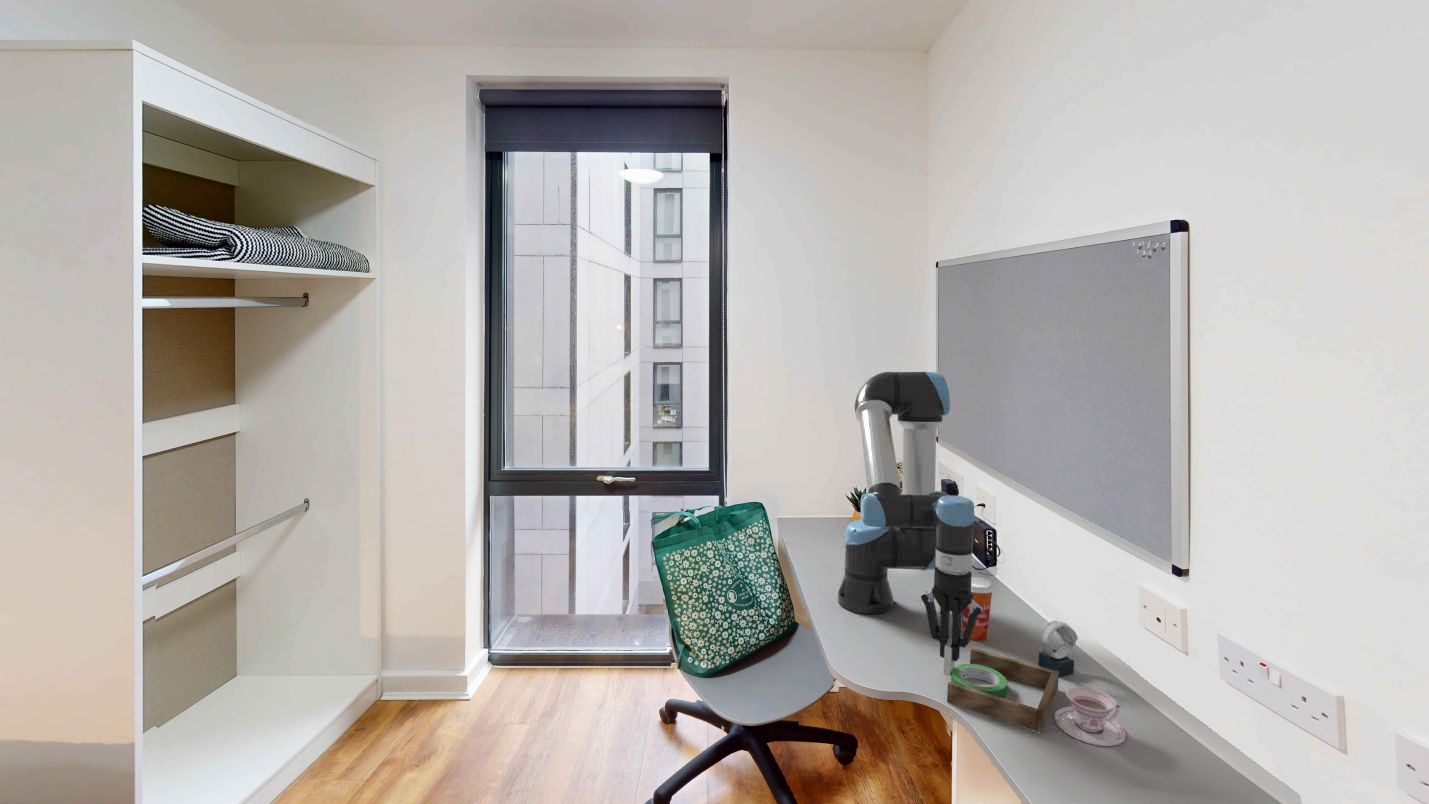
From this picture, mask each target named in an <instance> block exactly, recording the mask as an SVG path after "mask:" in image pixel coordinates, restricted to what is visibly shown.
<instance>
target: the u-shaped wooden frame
mask: <svg viewBox="0 0 1429 804" xmlns="http://www.w3.org/2000/svg"><path fill="white" fill-rule="evenodd" d="M969 657H970V658H969V660H970V661H969V664H978V665H982V666H986V667H989V668H992V669H994V670H996V671H998V672H999V673H1001V674H1002V675H1003V676H1004V677H1005V678H1008V679H1011V680H1015V681H1018V682H1021V683H1025V684H1029V685H1032V686H1035V687H1038V688H1041V689H1044V691H1043V693H1042V695H1041V698H1040V701H1039V704H1038V706H1037V708H1035V707H1033V706H1029V705H1027V704H1023V703H1020V702H1017V701H1014V700H1010V699H1009V698H1008V699H1007V698H1006V697H1005V698H1001V697H998V696H995V695H992V694H989V693H985V692H982V691H979V690H976V689H973V688H970V687H966V686H963V685H960V684H957V683H954V682H951V680H950V681H948V683H947V694H946V695H947V697H946V703H948V702H949V704H951V703H952V705H954V704H955V705H956V706H957V705H959V706H958V707H960V706H961V708H964V709H966V708H967V710H970V711H973V712H976V713H978V714H982V715H985V716H987V717H990V718H994V719H998V720H1000V721H1002V720H1003V722H1006V723H1008V722H1009V724H1011V723H1012V724H1011V725H1014V724H1015V725H1014V726H1017V725H1019V726H1018V727H1020V726H1022V727H1021V728H1023V727H1025V728H1024V729H1026V728H1028V729H1027V730H1029V729H1031V730H1030V731H1032V730H1034V731H1033V732H1035V731H1036V733H1038V732H1040V733H1039V734H1041V733H1042V734H1043V731H1044V729H1045V726H1046V724H1047V723H1046V722H1047V720H1048V718H1049V715H1050V713H1051V710H1052V706H1053V704H1054V701H1055V698H1056V696H1057V692H1058V690H1059V678H1060V677H1059V672H1058V671H1054V670H1051V669H1047V668H1043V667H1040V666H1039V665H1036V664H1032V663H1029V662H1025V661H1021V660H1017V659H1014V658H1010V657H1008V656H1007V657H1006V656H1003V655H1000V654H996V653H992V652H989V651H986V650H982V649H978V648H974V647H971V648H970V655H969ZM955 705H954V706H955Z"/></svg>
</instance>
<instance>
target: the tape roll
mask: <svg viewBox="0 0 1429 804" xmlns="http://www.w3.org/2000/svg"><path fill="white" fill-rule="evenodd" d="M950 677H951V678H950V681H951V682H954V683H957V684H960V685H963V686H966V687H970V688H973V689H976V690H979V691H982V692H985V693H989V694H992V695H995V696H998V697H1001V698H1005V699H1006V697H1007V695H1008V680H1007V679H1006V678H1007V677H1004V676H1003V675H1002V674H1001V673H999V672H998V671H996V670H994V669H992V668H989V667H986V666H982V665H978V664H970V663H962V664H958V665H955V666H954V668H953V670H952V674H951V676H950ZM966 679H978V680H982V681H986V682H988V683H990V684H992V685H991V686H990V685H989V686H981V685H976V684H973V683H970V682H969V681H967V680H966Z"/></svg>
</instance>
